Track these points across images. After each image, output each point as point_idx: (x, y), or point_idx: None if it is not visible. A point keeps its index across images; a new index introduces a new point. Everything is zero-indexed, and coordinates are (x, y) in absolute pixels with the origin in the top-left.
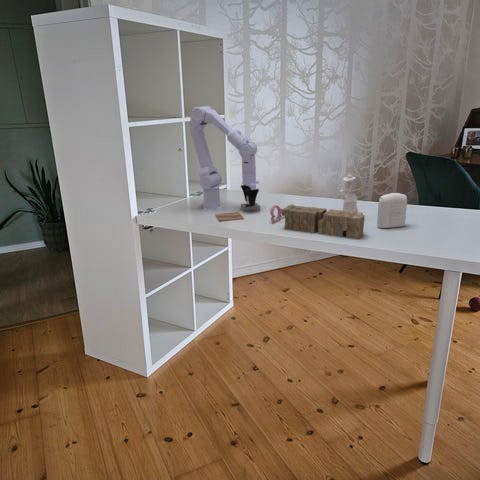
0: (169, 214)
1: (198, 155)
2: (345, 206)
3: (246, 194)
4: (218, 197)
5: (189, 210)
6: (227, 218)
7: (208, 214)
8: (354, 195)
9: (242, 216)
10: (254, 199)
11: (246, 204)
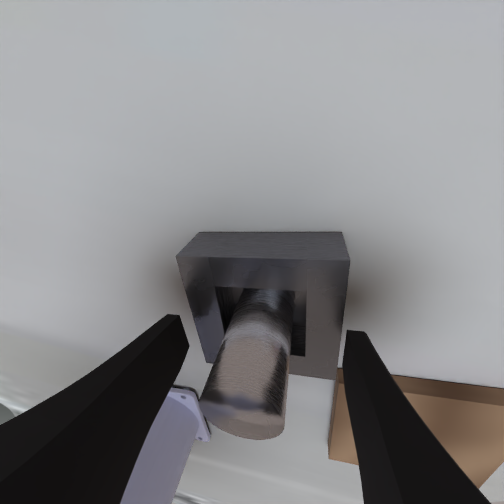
0: (233, 494)
1: None
2: None
3: (146, 408)
4: (148, 468)
5: (192, 456)
6: (466, 462)
7: (274, 445)
8: None
9: (490, 404)
10: (390, 401)
11: (224, 335)
